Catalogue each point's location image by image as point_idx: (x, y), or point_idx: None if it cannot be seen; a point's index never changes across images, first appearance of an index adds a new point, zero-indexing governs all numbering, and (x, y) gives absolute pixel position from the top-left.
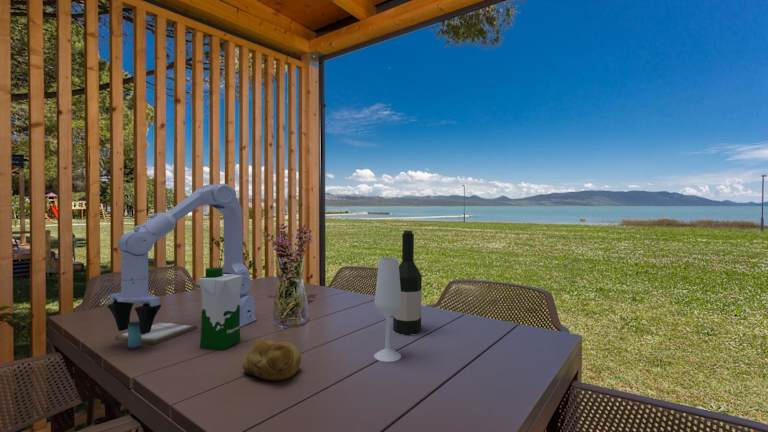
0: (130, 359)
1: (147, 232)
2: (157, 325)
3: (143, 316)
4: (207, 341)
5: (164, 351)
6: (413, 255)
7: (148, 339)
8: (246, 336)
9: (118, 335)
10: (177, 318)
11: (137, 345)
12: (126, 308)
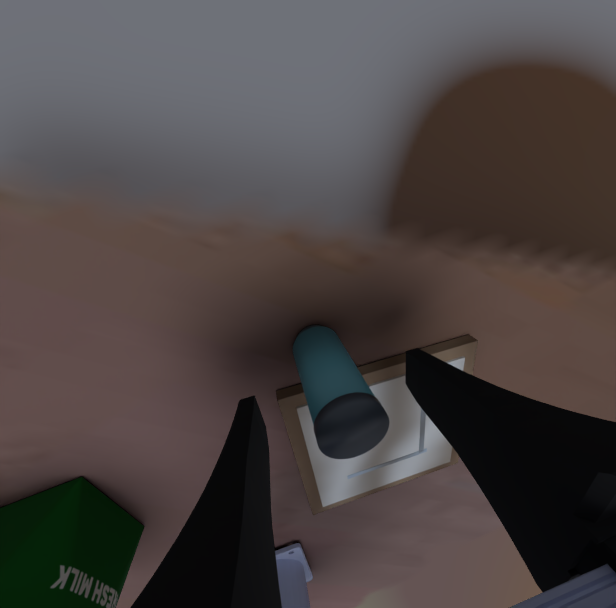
0: (173, 276)
1: None
2: (430, 449)
3: (172, 545)
4: (11, 527)
5: (159, 391)
6: None
7: None
8: None
9: (470, 348)
10: (447, 489)
11: (293, 350)
12: (509, 497)
